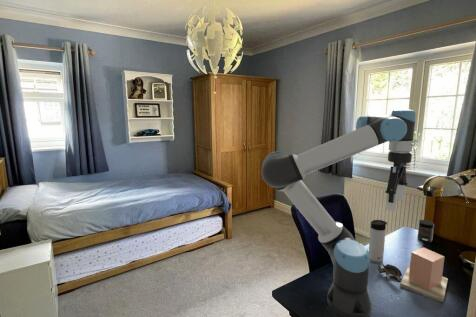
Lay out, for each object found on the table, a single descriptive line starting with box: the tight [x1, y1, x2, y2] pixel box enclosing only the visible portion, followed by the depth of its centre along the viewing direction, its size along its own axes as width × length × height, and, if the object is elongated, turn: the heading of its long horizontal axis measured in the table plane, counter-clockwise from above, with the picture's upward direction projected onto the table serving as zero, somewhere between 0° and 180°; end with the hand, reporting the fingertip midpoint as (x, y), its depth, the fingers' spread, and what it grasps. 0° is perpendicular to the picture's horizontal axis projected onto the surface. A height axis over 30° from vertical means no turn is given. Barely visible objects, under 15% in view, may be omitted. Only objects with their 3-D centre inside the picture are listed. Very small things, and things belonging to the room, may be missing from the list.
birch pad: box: [399, 265, 449, 303], centre depth 108 cm, size 16×14×2 cm
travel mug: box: [368, 219, 388, 264], centre depth 124 cm, size 6×7×20 cm
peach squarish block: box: [409, 247, 445, 290], centre depth 107 cm, size 8×8×12 cm
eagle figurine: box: [377, 262, 403, 282], centre depth 113 cm, size 8×7×9 cm
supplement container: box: [417, 219, 435, 244], centre depth 142 cm, size 7×7×10 cm
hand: (395, 205), depth 102 cm, fingers open, 13 cm apart
